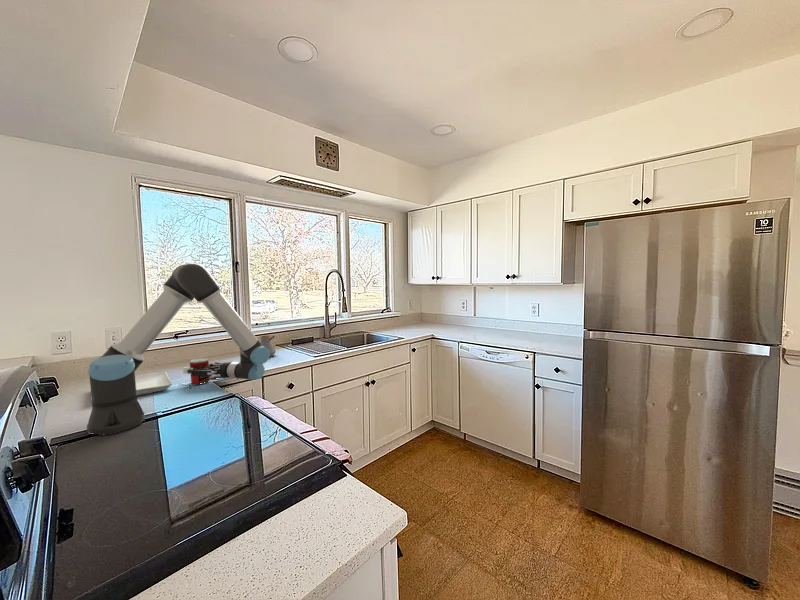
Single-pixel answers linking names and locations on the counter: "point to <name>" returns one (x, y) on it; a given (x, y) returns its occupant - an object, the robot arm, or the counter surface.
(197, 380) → the canned food
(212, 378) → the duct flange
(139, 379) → the square plate
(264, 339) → the coffee pot
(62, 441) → the counter surface
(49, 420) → the counter surface
